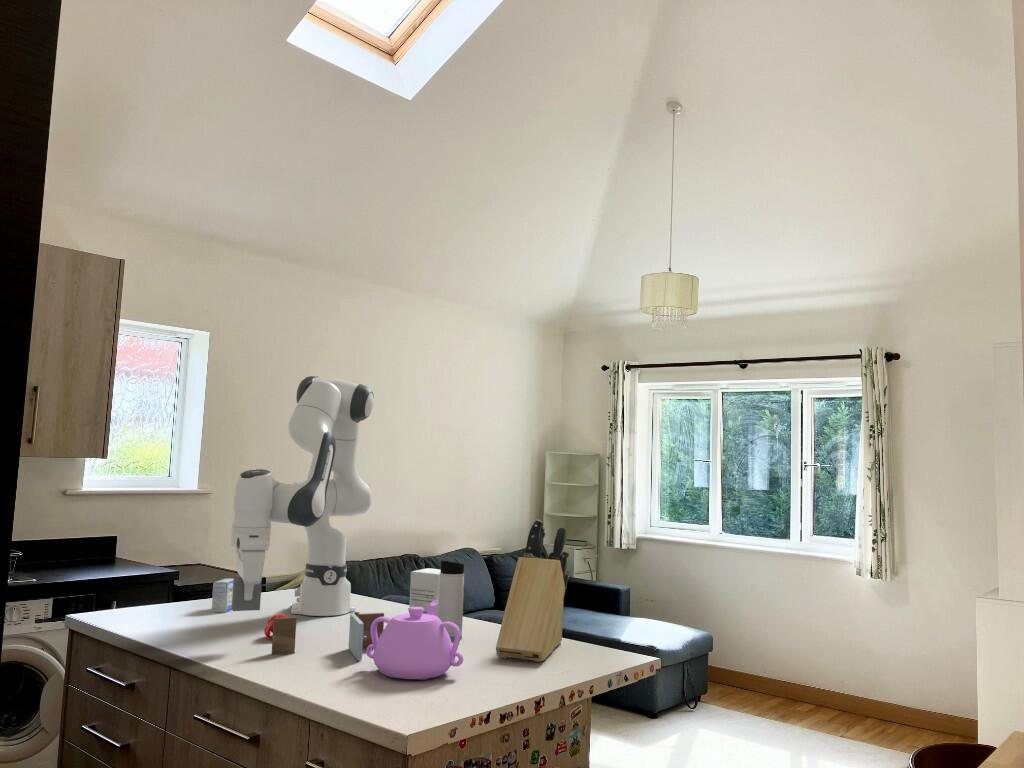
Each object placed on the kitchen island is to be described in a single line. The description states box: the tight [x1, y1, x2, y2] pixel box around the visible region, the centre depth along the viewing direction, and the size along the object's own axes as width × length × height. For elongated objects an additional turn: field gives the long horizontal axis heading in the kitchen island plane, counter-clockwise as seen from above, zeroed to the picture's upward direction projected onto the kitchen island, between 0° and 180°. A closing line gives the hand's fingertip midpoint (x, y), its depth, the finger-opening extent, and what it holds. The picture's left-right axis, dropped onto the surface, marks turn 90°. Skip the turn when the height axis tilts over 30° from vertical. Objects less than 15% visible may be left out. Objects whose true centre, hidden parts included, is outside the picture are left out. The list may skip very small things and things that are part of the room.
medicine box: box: [211, 578, 234, 614], centre depth 235 cm, size 8×4×9 cm, turn 179°
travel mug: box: [438, 559, 465, 642], centre depth 207 cm, size 6×7×20 cm
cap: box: [264, 613, 288, 640], centre depth 201 cm, size 8×6×6 cm
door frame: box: [271, 611, 385, 656], centre depth 189 cm, size 1×26×8 cm, turn 115°
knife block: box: [495, 519, 570, 663], centre depth 201 cm, size 11×35×31 cm, turn 165°
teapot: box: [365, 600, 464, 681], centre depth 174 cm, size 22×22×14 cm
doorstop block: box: [231, 577, 263, 612], centre depth 189 cm, size 4×6×7 cm, turn 114°
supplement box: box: [408, 567, 441, 617], centre depth 224 cm, size 9×9×15 cm
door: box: [348, 612, 367, 661], centre depth 186 cm, size 13×2×8 cm, turn 21°
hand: (246, 597), depth 189 cm, fingers closed on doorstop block, 4 cm apart
